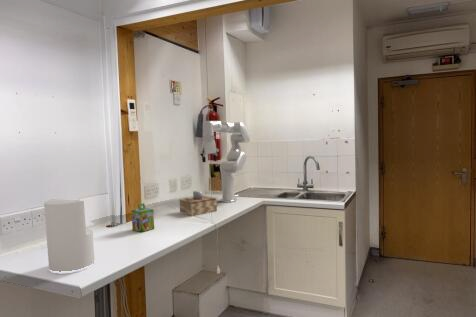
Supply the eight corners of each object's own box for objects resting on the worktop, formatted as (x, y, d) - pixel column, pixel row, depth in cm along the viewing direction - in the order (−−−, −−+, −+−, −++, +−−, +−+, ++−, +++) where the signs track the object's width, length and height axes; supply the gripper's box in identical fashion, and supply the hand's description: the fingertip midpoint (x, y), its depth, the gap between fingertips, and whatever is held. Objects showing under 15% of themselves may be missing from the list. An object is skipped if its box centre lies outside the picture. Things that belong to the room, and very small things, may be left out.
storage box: (203, 207, 254) (203, 196, 253) (216, 211, 241) (216, 199, 241) (179, 212, 241) (179, 201, 241) (192, 216, 229) (191, 204, 228)
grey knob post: (199, 197, 245) (198, 190, 244) (203, 198, 240) (203, 191, 240) (191, 198, 241) (191, 191, 241) (196, 199, 236) (196, 192, 236)
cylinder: (71, 276, 135) (66, 205, 133) (39, 271, 141) (33, 203, 139) (103, 260, 151) (99, 197, 149) (73, 257, 157) (69, 195, 155)
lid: (203, 196, 253) (203, 195, 253) (216, 199, 241) (216, 198, 241) (179, 200, 240) (179, 199, 240) (191, 204, 228) (191, 202, 228)
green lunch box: (141, 232, 194) (140, 206, 192) (131, 230, 199) (130, 204, 198) (155, 228, 201) (153, 203, 200) (145, 226, 206) (143, 201, 205)
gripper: (215, 137, 262) (216, 160, 263) (195, 138, 251) (196, 162, 252) (221, 137, 256) (222, 160, 257) (201, 138, 245) (202, 162, 246)
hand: (209, 161), depth 254 cm, fingers open, 9 cm apart
